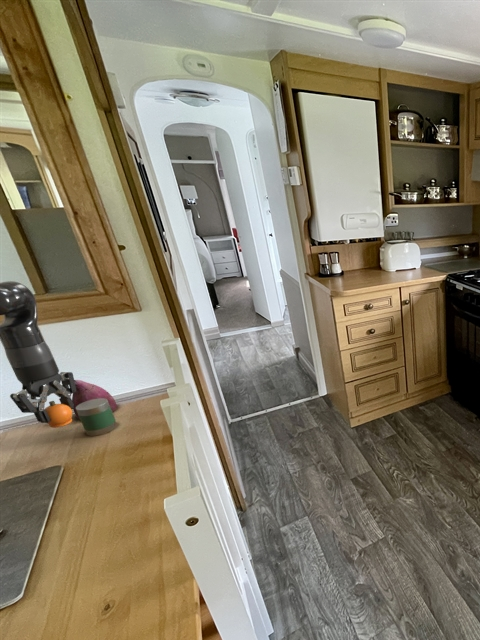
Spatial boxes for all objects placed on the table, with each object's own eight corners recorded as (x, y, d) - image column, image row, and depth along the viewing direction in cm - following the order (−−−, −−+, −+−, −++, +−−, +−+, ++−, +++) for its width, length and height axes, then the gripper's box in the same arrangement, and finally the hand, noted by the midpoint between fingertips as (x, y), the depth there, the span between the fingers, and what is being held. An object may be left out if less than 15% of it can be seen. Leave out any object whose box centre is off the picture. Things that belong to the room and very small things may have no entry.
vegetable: (93, 430, 121) (64, 397, 112) (72, 419, 124) (43, 387, 115) (127, 408, 129) (103, 376, 120) (107, 399, 132) (82, 366, 122)
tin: (79, 435, 113) (68, 410, 110) (100, 422, 120) (90, 397, 116) (103, 436, 113) (92, 410, 110) (123, 423, 120) (114, 398, 116)
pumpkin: (39, 429, 102) (29, 407, 99) (61, 417, 107) (51, 396, 105) (61, 429, 102) (51, 407, 99) (81, 417, 107) (72, 396, 105)
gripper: (46, 349, 104) (69, 402, 110) (-16, 371, 91) (15, 430, 97) (73, 349, 104) (95, 402, 110) (15, 372, 91) (44, 431, 97)
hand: (57, 415), depth 104 cm, fingers closed on pumpkin, 5 cm apart
